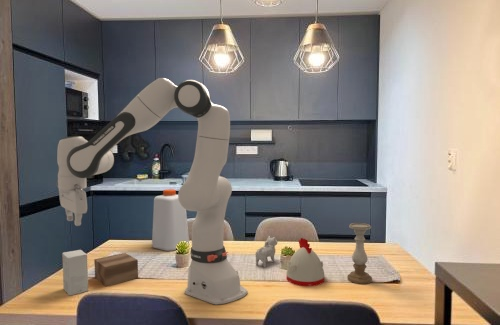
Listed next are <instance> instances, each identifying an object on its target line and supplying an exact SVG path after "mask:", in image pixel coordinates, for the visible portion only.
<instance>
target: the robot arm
mask: <svg viewBox="0 0 500 325" xmlns="http://www.w3.org/2000/svg"><path fill="white" fill-rule="evenodd" d="M211 100H212V98H211V94H210V92H209V90H208V88H207V87H206V86H205V85H204V84H203V83H202V82H199V81H198V80H194V79H186V80H184V81H181V82H180V83H179V84H178V85H176V84H175V83H174V82H172V81H171V80H169V79H168V78H165V77H158V78H157V79H155V80H154V81H152V82H151V83H149V84H147V86H145V87H144V88H143V89H142V90H141V91H140V92H139V93H138V94H137V95H136V96H134V98H133V99H132V100H130V102H129V103H128V104H127V105H126V106H125V107H124V108H123V109H122V110H121V111H120V112H119V113H118V114H117V115H116V116H115V117H114V118H113V119H112V120H110V121H109V123H107V124H106V125H105V126H104V127H103V128H102V129H100V131H98V132H97V133H96V134H95V135H94V136H92V138H91V139H89V140H87V139H85V137H83V136H80V135H73V136H67V137H63V138H61V139H60V140H59V141H58V144H57V152H56V154H57V155H56V156H57V157H56V158H57V165H58V172H57V181H56V187H57V188H58V195H59V203H60V206H61V207H62V208H64V210H65V214H66V221H68V222H74V223H73V224H74V225H75V226H76V227H80V226H81V225H82V218H83V214H87V212H88V200H87V193H86V191H85V190H84V189H86V188H88V186H87V178H89V177H92V176H95V175H100V174H103V173H106V172H108V171H110V170H111V169H112V168H113V166H114V164H115V156H114V153H113V152H112V149H113V148H114V147H116V145H118V144H119V143H120V142H121V141H122V140H124V139H125V138H128V137H129V136H131V135H134V134H138V133H141V132H142V133H143V132H145V131H148V130H149V129H151V128H153V127H154V126H155V125H157V124H158V123H159V122H160V121H161V120H162V119H163V118H164V117H165V116H166V115H167V114H168V113H169V112H170V111H171V110H173V109H176V108H178V109H179V110H180V111H182V112H183V113H185V114H187V115H190V116H191V117H194V118H196V119H197V124H198V125H197V126H198V127H197V136H196V144H195V150H194V157H193V161H192V165H191V167H190V169H189V172H188V175H187V178H186V180H185V181H184V183H183V184H182V185H181V186H180V188H179V189H178V194H177V195H178V199H179V202H180V204H181V206H182V207H183V208H184V209H186V211H188V212H196V215H195V218H194V220H193V222H192V224H191V248H190V259H191V262H190V264H189V266H188V270H187V284H186V286H187V287H186V288H185V289H184V294H185V295H187V296H191V297H193V298H195V299H198V300H202V301H203V302H206V303H210V304H213V305H223V304H228V303H232V302H234V301H237V300H239V299H242V298H244V297H245V296H247V294H248V293H249V292H248V289H247V288H245V287H244V286H242V285H241V279H240V275H239V271H238V269H235V268H234V267H233V265H232V264H231V262H230V261H229V260H228V256H229V254H228V253H229V252H228V251H226V247H225V245H224V225H225V224H224V223H225V217H226V211H227V207H228V203H229V199H230V197H231V196H232V192H233V186H232V183H231V182H230V181H229V179H227V178H226V177H224V176H221V173H222V170H223V168H224V166H225V165H226V164H227V160H228V154H229V153H228V152H229V144H230V138H231V137H230V136H231V135H230V134H231V116H230V112H229V110H228V109H227V108H226V107H224V106H222V105H219V104H215V103H213V102H212V101H211ZM73 214H74V215H73Z"/></svg>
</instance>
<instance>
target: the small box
mask: <svg viewBox="0 0 500 325" xmlns="http://www.w3.org/2000/svg"><path fill="white" fill-rule="evenodd" d="M61 256H62V257H61V258H62V277H63V278H62V279H63V280H62V281H63V282H62V284H63V287H62V288H63V290H64V291H65V292H66V293H67V295H68V296H73V295H74V296H75V295H78V294H82V293H85V292H88V291H89V271H88V254H87V253H86V252H84V251H83V250H82V249H77V250H70V251H64V252H62V253H61Z"/></svg>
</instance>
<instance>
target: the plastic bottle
mask: <svg viewBox="0 0 500 325" xmlns="http://www.w3.org/2000/svg"><path fill="white" fill-rule="evenodd" d="M152 213H153V214H152V215H153V216H152V233H151V234H152V236H151V237H152V238H151V239H152V240H151V245H152V248H154V249H155V250H156V249H157V250H161V251H166V252H172V251H177V250H176V246H177V244H178V243H179V242H180V241H186V242H188V243H190V239H189V238H190V237H189V228H188V226H189V225H188V217H187V214H188V213H187V210H186V209H184V208H183V207H182V206H181V204H180V202H179V199H178V194H177V192H176V189H171V188H170V189H169V188H167V189H163V191H162V194H161V195H157V196H155V197H154V199H153V212H152Z"/></svg>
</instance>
